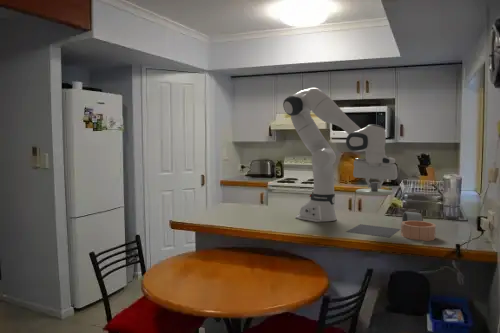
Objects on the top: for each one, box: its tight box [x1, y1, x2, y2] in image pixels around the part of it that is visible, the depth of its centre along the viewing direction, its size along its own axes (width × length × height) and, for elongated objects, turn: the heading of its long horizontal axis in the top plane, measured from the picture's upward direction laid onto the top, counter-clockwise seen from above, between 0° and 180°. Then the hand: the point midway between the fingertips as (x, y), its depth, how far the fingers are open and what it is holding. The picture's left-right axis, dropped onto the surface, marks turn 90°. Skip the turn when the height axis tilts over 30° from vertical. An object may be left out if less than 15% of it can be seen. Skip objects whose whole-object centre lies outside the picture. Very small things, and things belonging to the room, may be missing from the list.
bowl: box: [400, 220, 437, 242], centre depth 185 cm, size 14×14×6 cm
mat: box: [345, 224, 401, 239], centre depth 196 cm, size 20×20×1 cm
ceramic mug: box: [401, 211, 424, 223], centre depth 207 cm, size 11×8×8 cm
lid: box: [355, 181, 394, 196], centre depth 195 cm, size 17×17×5 cm
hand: (374, 188), depth 195 cm, fingers closed on lid, 3 cm apart
